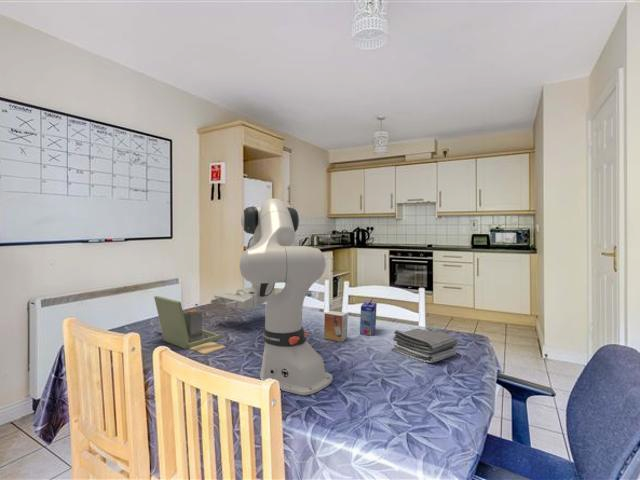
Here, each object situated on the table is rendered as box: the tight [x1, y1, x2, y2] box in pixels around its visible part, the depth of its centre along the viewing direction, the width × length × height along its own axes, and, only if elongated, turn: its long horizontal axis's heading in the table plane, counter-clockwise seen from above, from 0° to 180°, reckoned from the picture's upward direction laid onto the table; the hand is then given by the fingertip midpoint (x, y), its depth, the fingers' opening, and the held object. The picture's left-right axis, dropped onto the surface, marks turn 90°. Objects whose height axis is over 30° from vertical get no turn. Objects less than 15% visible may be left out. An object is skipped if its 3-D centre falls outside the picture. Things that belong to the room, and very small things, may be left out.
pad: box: [189, 341, 226, 356], centre depth 124 cm, size 9×9×1 cm
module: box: [183, 309, 203, 343], centre depth 133 cm, size 5×5×12 cm
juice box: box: [359, 298, 378, 337], centre depth 145 cm, size 10×6×14 cm, turn 161°
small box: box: [323, 310, 349, 343], centre depth 136 cm, size 8×6×10 cm
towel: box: [390, 328, 458, 364], centre depth 121 cm, size 15×18×8 cm
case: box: [153, 295, 221, 350], centre depth 133 cm, size 17×18×18 cm
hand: (218, 303), depth 143 cm, fingers open, 8 cm apart
